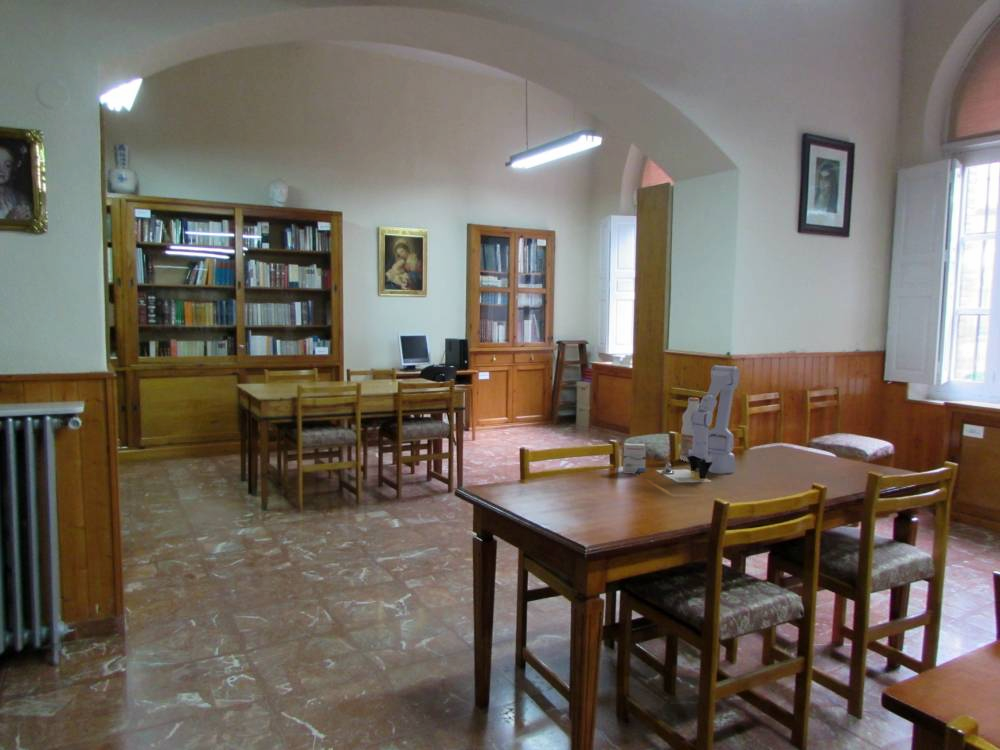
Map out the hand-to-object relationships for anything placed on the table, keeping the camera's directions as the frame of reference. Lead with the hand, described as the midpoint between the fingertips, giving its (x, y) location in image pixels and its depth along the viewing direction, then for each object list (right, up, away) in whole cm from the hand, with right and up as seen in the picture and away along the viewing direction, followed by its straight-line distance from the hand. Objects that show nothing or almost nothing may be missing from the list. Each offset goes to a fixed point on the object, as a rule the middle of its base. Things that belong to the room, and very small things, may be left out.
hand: (698, 476), depth 258 cm
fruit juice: (+8, +1, +37) cm, 38 cm away
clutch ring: (0, -1, 0) cm, 1 cm away
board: (-5, -1, +4) cm, 7 cm away
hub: (-10, -1, +8) cm, 13 cm away
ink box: (-23, -1, +12) cm, 26 cm away
